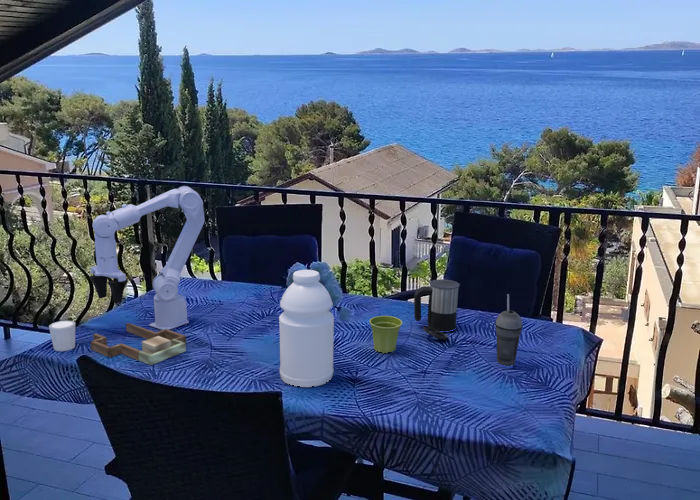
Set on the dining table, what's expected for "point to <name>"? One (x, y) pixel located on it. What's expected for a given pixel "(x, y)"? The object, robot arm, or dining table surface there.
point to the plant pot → (385, 332)
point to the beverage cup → (508, 336)
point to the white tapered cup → (63, 335)
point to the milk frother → (438, 307)
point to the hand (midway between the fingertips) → (110, 300)
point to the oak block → (155, 345)
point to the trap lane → (176, 342)
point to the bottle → (306, 332)
